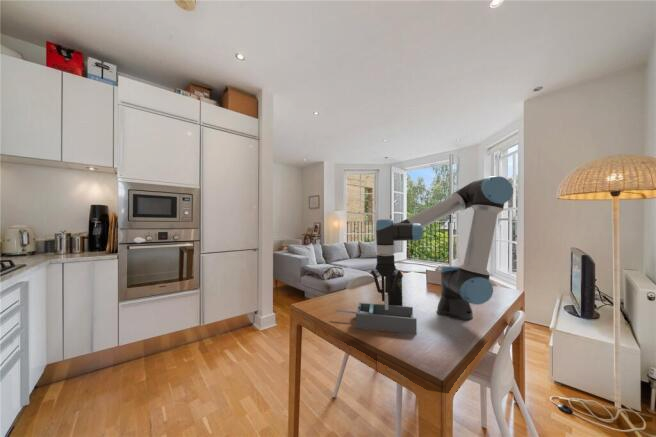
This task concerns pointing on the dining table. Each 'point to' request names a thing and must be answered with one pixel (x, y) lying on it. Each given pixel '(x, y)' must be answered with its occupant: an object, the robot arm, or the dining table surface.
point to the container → (397, 296)
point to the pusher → (360, 312)
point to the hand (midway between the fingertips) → (386, 308)
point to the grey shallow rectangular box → (386, 318)
